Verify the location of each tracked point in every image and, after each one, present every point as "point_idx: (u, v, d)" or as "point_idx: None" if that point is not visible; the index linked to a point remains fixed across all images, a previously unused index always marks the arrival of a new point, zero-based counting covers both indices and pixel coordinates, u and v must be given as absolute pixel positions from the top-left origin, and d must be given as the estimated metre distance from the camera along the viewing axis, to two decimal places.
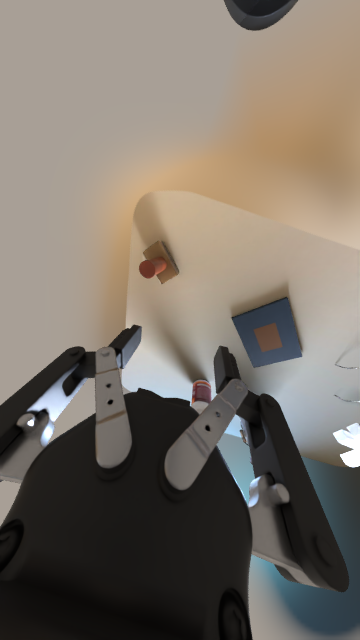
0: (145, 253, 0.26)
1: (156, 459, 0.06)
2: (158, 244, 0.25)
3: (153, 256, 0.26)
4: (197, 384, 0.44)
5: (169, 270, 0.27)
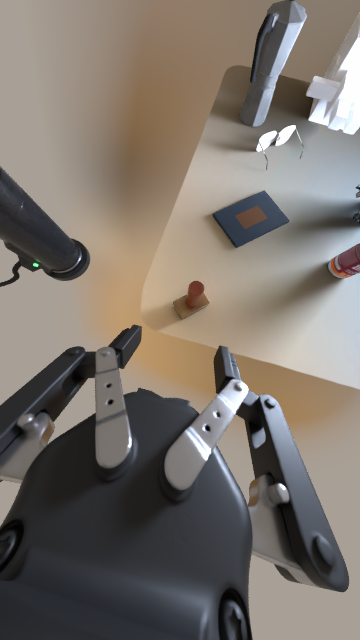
0: (182, 314, 0.29)
1: (156, 459, 0.06)
2: (175, 302, 0.29)
3: (185, 307, 0.29)
4: (339, 268, 0.33)
5: None
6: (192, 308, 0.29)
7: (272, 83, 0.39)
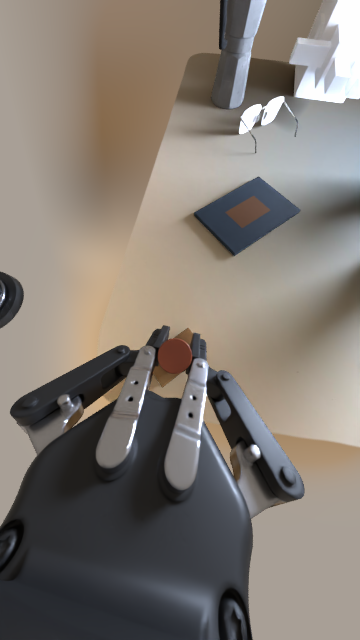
0: (163, 381, 0.16)
1: (156, 459, 0.06)
2: None
3: None
4: None
5: (184, 341, 0.18)
6: None
7: (247, 49, 0.31)
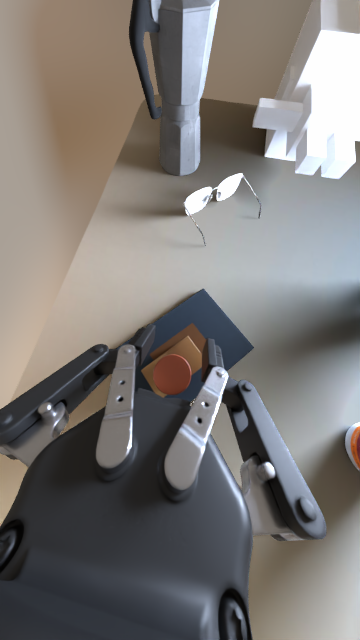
0: (160, 394, 0.15)
1: (156, 459, 0.06)
2: (146, 370, 0.16)
3: None
4: None
5: (183, 350, 0.17)
6: None
7: (191, 115, 0.24)
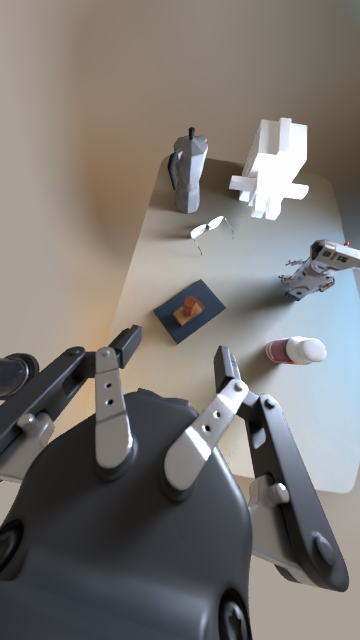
0: (182, 322, 0.36)
1: (156, 459, 0.06)
2: (175, 313, 0.36)
3: (183, 316, 0.36)
4: (273, 358, 0.35)
5: None
6: (189, 316, 0.36)
7: (194, 186, 0.44)
